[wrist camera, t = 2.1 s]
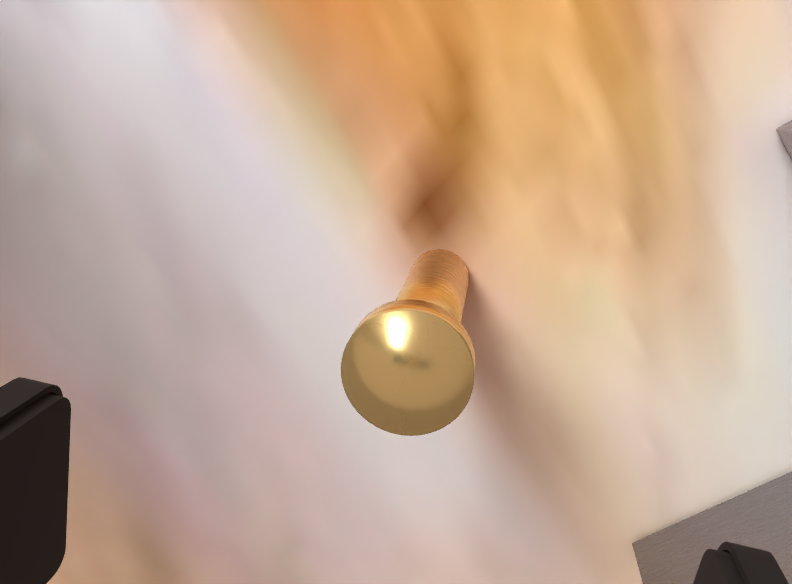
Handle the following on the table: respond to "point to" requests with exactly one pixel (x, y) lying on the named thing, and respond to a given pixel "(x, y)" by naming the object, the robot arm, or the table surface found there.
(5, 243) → the table surface
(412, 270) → the hinge pin
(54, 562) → the robot arm
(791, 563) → the hinge bracket
